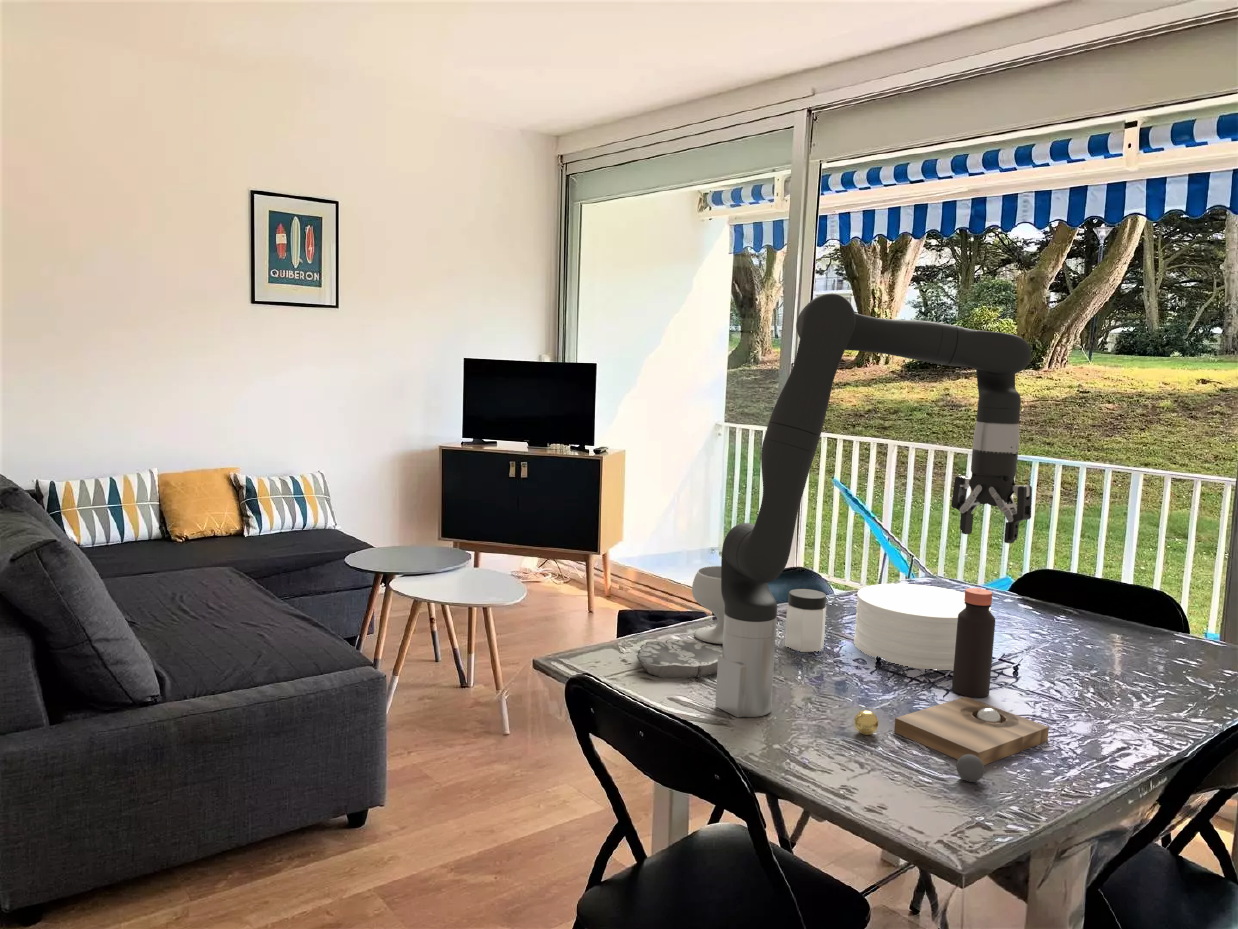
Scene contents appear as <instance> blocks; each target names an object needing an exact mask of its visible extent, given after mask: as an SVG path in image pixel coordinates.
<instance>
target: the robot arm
mask: <svg viewBox="0 0 1238 929" xmlns="http://www.w3.org/2000/svg"><path fill="white" fill-rule="evenodd" d="M795 325H796V326H795V327H796V332H797V336H798V338H799V343H798V347H797V352H796V355H795V360H794V363H793V366H792V368H791V371H790V373H789V376H788V378H787V380H786V382H785V384H784V385H783V387H782V390H781V392H780V394H779V396H778V398H777V400H776V403H775V405H774V407H773V410H772V412H771V414H770V419H769V421H768V424H767V427H766V430H765V433H764V437H763V441H762V444H761V450H760V451H761V452H760V463H761V466H760V467H761V468H760V469H761V478H762V497H761V498H762V499H761V502H760V503H761V504H760V507H759V511H758V514H757V517H756V521H755V523H751V522H742V523H739V524H736V525H735V526H733V527H732V528H731V529H730V530H729V531H728V533H727V534H726V536H725V538H724V540H723V543H722V548H721V558H720V559H721V563H720V564H721V565H720V566H721V593H722V597H723V600H724V604H725V613H724V631H723V644H722V648H723V650H722V655H719V656H718V665H717V673H716V687H715V688H716V689H715V704H714V705H715V707H716V708H718V709H720V710H722V711H724V712H726V713H728V714H730V715H732V716H734V717H736V718H742V717H744V718H745V717H748V718H749V717H751V718H752V717H753V718H755V717H762V716H765V715H768V714H769V713H771V712H772V704H773V703H772V701H773V700H772V699H773V683H774V667H775V665H774V664H775V650H776V649H775V648H776V633H777V632H776V631H777V617H778V602H777V601H776V598H775V597H774V596H773V594H772V592H771V590H770V588H769V585H768V584H769V583H771V582H774V581H775V580H776V579H778V578H779V577H780V576H781V575H782V573H783V572H784V570H785V568H786V566H787V564H788V561H789V558H790V554H791V550H792V545H793V539H794V534H795V528H796V523H797V518H798V513H799V509H800V505H801V501H802V499H803V495H804V491H805V488H806V484H807V480H808V477H809V473H810V470H811V467H812V463H813V460H815V455H816V452H817V448H818V445H819V441H820V438H821V436H822V432H823V428H824V427H823V426H824V424H825V423H824V422H825V419H826V415H827V412H828V407H829V403H830V398H831V393H832V389H833V384H834V380H835V377H836V374H837V372H838V371H837V370H838V367H839V366H840V363H841V361H842V358H843V356H844V353H845V351H853V352H854V351H855V352H866V353H867V352H868V353H875V354H876V353H877V354H883V355H890V356H894V357H899V358H905V359H909V360H915V361H920V362H927V363H931V364H936V365H943V366H949V367H965V368H971V369H975V371H976V383H977V390H978V401H977V408H976V409H977V410H976V423H975V427H974V431H973V437H972V438H973V439H972V449H971V450H972V451H971V463H970V471H971V476H970V477H968V476H967V475H957V476H955V478H954V482H953V490H952V498H951V508H952V509H956V510H957V511H959V513H960V518H959V521H960V522H959V529H960V531H961V534H963V535H970V534H972V533H973V526H974V525H973V524H974V522H973V521H974V513H973V512H974V510H975V509H976V508H977V507H978V506H980V505H989V506H992V507H998V509H999V510H1000V511H1001V512H1002V513H1003V515H1004V517H1005V519H1006V521H1005V528H1004V538H1003V541H1004V543H1005V544H1013V543H1015V542H1016V541H1017V539H1018V537H1019V535H1018V534H1019V528H1020V527H1019V525H1020V522H1022V521H1026V520H1027V521H1028V520H1030V519H1031V518H1032V505H1033V504H1032V500H1033V487H1032V485H1029V484H1027V485H1025V484H1024V485H1018V484H1016V481H1015V477H1016V475H1017V469H1018V468H1017V467H1018V457H1019V448H1020V419H1021V418H1020V417H1021V416H1020V415H1021V408H1022V407H1021V406H1022V405H1021V404H1022V399H1021V395H1020V393H1019V392H1018V390H1017V389H1016V374H1018V373H1021V372H1022V371H1024V370H1025V369H1026V368H1027V366H1028V365H1029V364H1030V362H1031V360H1032V359H1031V357H1032V350H1031V346H1030V345H1029V343H1028V342H1027V341H1026V340H1025V339H1024V337H1021V336H1019V335H1016V334H1013V333H1008V332H1007V333H1006V332H998V331H987V330H981V329H980V330H979V329H977V330H976V329H971V328H968V327H967V328H966V327H963V326H958V325H953V324H947V323H942V322H936V321H929V320H919V319H917V320H915V319H891V318H882V317H874V316H869V315H864V314H861V313H856V312H855V309H854V307H853V306H852V304H851V302H850V301H849V300H848V299H847V298H846V297H845V296H843V295H841V294H838V293H833V292H831V293H830V292H829V293H824V294H821V295H819V296H818V295H817V297H815V298H813V299H812V300H811V301H809V302H808V303H807V304H806V305H805V306H804V308H802V310H801V311H800V313H799V315H798V316H797V319H796V324H795ZM969 487H970V489H971V491H972V492H971V493H970V494H969V495H968V496H967V493H968V489H969ZM1014 493H1015V494H1014ZM1013 495H1015V497H1016V499H1017V501H1016V502H1017V503H1016V502H1015V500H1014V499H1013V497H1012V496H1013Z"/></svg>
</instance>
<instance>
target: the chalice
mask: <svg viewBox="0 0 1238 929" xmlns="http://www.w3.org/2000/svg"><path fill="white" fill-rule="evenodd" d="M691 594H692V597H693V599H694V600H695V602H696V603H698V605H700V606H702V607H703V608H705V609H706V610H708V611H709V612H711V613H712V614H713V615H714V616H715V618H716V619H717V620H716V621H717V623H716V626H707V627H702V628H698V629H696V630H695V631H694V633H693V636H694V637H695V638H696V639H698V640H700V641H703V642H705V643H709V644H711V643H712V644H717V645H718V644H719V645H723V631H724V613H725V604H724V600H723V597H722V593H721V565H718V566H716V565H715V566H705V567H701V568H699V569H698V570H697V572H696V573H695V575H694V578H693V581H692V586H691Z"/></svg>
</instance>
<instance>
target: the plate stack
mask: <svg viewBox="0 0 1238 929" xmlns="http://www.w3.org/2000/svg"><path fill="white" fill-rule="evenodd" d="M964 599H965V592H962V591H959V590H955V589H950V588H944V587H939V586H938V587H937V586H932V585H924V584H914V583H913V584H912V583H881V584H872V585H868V586H864V587H862V588H860V589H858V591H857V593H856V600H857V602H856V606H855V609H856V610H855V611H856V613H855V625H854V636H853V637H854V638H853V644H855V645H854V646H855V647H857V648H858V649H857V648H856V649H857V650H858V651H860V650H861V651H862V653H863V652H864V653H863V654H864V655H866V654H867V655H866V656H868V655H869V657H871V656H873V657H877V656H879V657H881V658H883V659H885V660H887V661H888V662H893V663H895V664H899V665H898V666H900V665H903V666H902V667H905V666H908V667H907V668H910V667H913V668H912V669H917V670H925V669H937V670H953V669H954V657H955V645H956V633H957V621H958V614H959V613H960V612H961V611H962V610H963V609H965V608H966V604H965V603H964V602H965V601H964ZM989 611H990V613H991V614H992V606H991V607H989ZM861 651H860V652H861ZM873 657H872V658H873ZM888 662H887V663H888ZM895 664H894V665H895ZM937 670H936V671H937Z"/></svg>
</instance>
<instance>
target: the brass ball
mask: <svg viewBox="0 0 1238 929" xmlns="http://www.w3.org/2000/svg"><path fill="white" fill-rule="evenodd" d="M853 723H854V724H853V725H854V727H855V729H856V730H857V731H858V732H859V733H860V734H862V735H864V736H869V735H872V734H874V733H876V731H877V730H878V728H879V718H878V717H877V715H876V714H875V713H874V712H872V711H871V710H866V709H865V710H861V711H859V712H858V713H857V714H856V715H855V717H854V720H853Z"/></svg>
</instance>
